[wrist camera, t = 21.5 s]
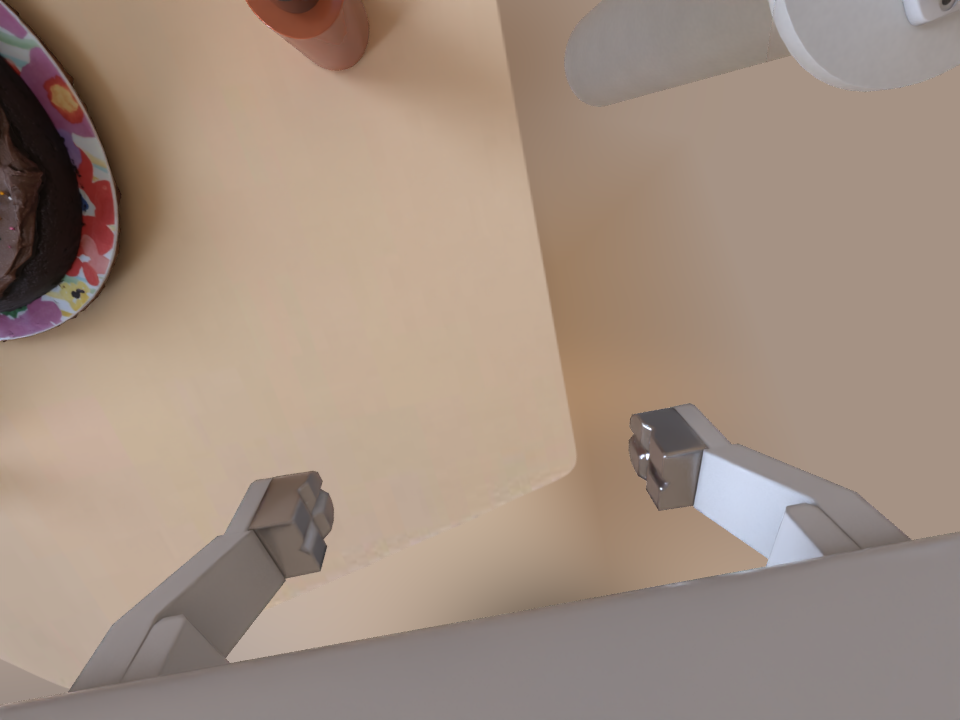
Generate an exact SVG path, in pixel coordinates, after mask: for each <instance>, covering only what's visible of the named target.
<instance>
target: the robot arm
mask: <svg viewBox="0 0 960 720" xmlns="http://www.w3.org/2000/svg"><path fill="white" fill-rule="evenodd" d="M902 2H903V6H904V10H905V14H906V17H907V19H908V21H909V23H910V24H911V25H913V26H919V25H922V24H925V23H928V22H930V21H933V20H936V19H938V18H941V17H943V16H946V15H948V14H951V13H953V12H956V11H958V10H960V0H902ZM630 428H631V430H632V432H633V433H634V434H633V436H632V437H631V438H630V440H629V454H630V459H631V462H632V465H633V467H634V469H635V471H636V473H637V475H638V476H639V477H641V478H643V479H644V480H646V481H647V485H646V490H647V492H648V494H649V495H650V497H651V499H652V500H653V502H654V503H655V505H656V507H657V509H658V510H659V511H660V510H667V509H674V508H680V507H687V506H694V508H695V509H697V510H698V511H700V512H701V513H703V514H704V515H705V516H707V517H709V518H710V519H711V520H713V521H715V522H716V523H717V524H719V525H720V526H722V527H723V528H725V529H726V530H727V531H729V532H730V533H732V534H733V535H735V536H736V537H737V538H739V539H741V540H742V541H744V542H745V543H746V544H748V545H749V546H751V547H752V548H754V549H755V550H756V551H758V552H759V553H761V554H762V555H764V556H765V557H767V558H768V562H767V565H766V567H761V568H756V569H750V570H744V571H738V572H733V573H727V574H722V575H716V576H711V577H705V578H700V579H694V580H689V581H683V582H678V583H672V584H667V585H661V586H655V587H650V588H644V589H639V590H633V591H628V592H622V593H617V594H611V595H606V596H601V597H595V598H589V599H584V600H579V601H574V602H568V603H562V604H557V605H552V606H545V607H540V608H534V609H529V610H523V611H518V612H512V613H507V614H501V615H496V616H490V617H485V618H479V619H473V620H468V621H462V622H457V623H451V624H446V625H440V626H434V627H429V628H423V629H418V630H412V631H407V632H401V633H395V634H390V635H384V636H379V637H373V638H368V639H362V640H356V641H351V642H345V643H340V644H334V645H329V646H324V647H318V648H312V649H306V650H301V651H295V652H290V653H284V654H279V655H274V656H268V657H263V658H257V659H251V660H245V661H240V662H234V663H229V661H227V659H226V657H227V656H228V654H229V653H230V652H231V650H232V649H233V648H234V646H235V645H236V644H237V643H238V641H239V640H240V639H241V637H242V636H243V635H244V634H245V632H246V631H247V630H248V629H249V627H250V626H251V625H252V623H253V622H254V621H255V620H256V618H257V617H258V616H259V614H260V613H261V612H262V611H263V609H264V608H265V607H266V605H267V604H268V603H269V601H270V600H271V599H272V598H273V596H274V595H275V594H276V592H277V591H278V590H279V589H280V587H281V586H282V585H283V583H284V582H285V581H286V580H285V579H286V578H290V577H295V576H300V575H305V574H310V573H314V572H319V571H321V567H322V563H323V560H324V556H325V552H326V549H327V545H326V543H325V541H324V540H323V539H324V538H325V537H326V536H327V535H328V534H329V532H330V531H331V529H332V525H333V521H334V508H333V503H332V500H331V498H330V495H329V493H327V492H325V491H323V490H322V489H320V488H321V485H322V482H323V481H322V479H321V477H320V475H319V473H318V472H316V471H309V472H303V473H296V474H290V475H283V476H276V477H273V478H266V479H259V480H256V481H254V482H253V483H251V485H250V486H249V488H248V490H247V492H246V494H245V496H244V498H243V500H242V501H241V503H240V505H239V507H238V509H237V511H236V513H235V515H234V516H233V518H232V520H231V522H230V524H229V526H228V528H227V530H226V532H225V533H224V535H221V536H217V537H216V538H215V539H213V540H212V541H211V542H210V543H209V544H207V545H206V546H205V547H204V548H203V549H202V550H200V551H199V552H198V553H197V554H196V555H194V556H193V557H192V558H191V559H190V560H189V561H187V562H186V563H185V564H184V565H183V566H181V567H180V568H179V569H178V570H177V571H175V572H174V573H173V574H172V575H171V576H170V577H168V578H167V579H166V580H165V581H164V582H162V583H161V584H160V585H159V586H158V587H157V588H155V589H154V590H153V591H152V592H151V593H149V594H148V595H147V596H146V597H145V598H144V599H142V600H141V601H140V602H139V603H138V604H136V605H135V606H134V607H133V608H132V609H130V610H129V611H128V612H127V613H126V614H125V615H123V616H122V617H121V618H120V619H119V620H117V621H116V622H115V623H114V624H113V625H112V626H111V628H110V629H109V631H108V632H107V634H106V635H105V637H104V638H103V640H102V641H101V643H100V644H99V646H98V647H97V649H96V650H95V652H94V653H93V655H92V656H91V658H90V660H89V661H88V663H87V664H86V666H85V667H84V669H83V670H82V672H81V673H80V675H79V676H78V678H77V679H76V681H75V682H74V684H73V685H72V687H71V688H70V690H69V691H68V693H63V694H57V695H51V696H46V697H40V698H35V699H29V700H24V701H18V702H13V703H7V704H1V705H0V720H960V532H955V533H950V534H944V535H938V536H933V537H927V538H922V539H916V540H911V539H910V538H908V536H907V535H905V534H904V533H903V532H902V531H901V530H900V529H898V528H897V527H896V526H895V525H894V524H893V523H892V522H890V521H889V520H888V519H887V518H886V517H885V516H883V515H882V514H881V513H880V512H879V511H878V510H876V509H875V508H874V507H873V506H872V505H871V504H869V503H868V502H867V501H866V500H865V499H864V498H863V497H861V496H860V495H859V494H858V493H857V492H854V491H852V490H850V489H847V488H845V487H842V486H840V485H838V484H835V483H832V482H830V481H828V480H825V479H823V478H821V477H818V476H816V475H813V474H811V473H808V472H806V471H804V470H801V469H798V468H796V467H794V466H791V465H789V464H787V463H784V462H782V461H779V460H777V459H774V458H772V457H770V456H767V455H765V454H762V453H760V452H757V451H755V450H752V449H750V448H748V447H745V446H743V445H740V444H733V445H732V444H731V443H730V442H729V441H728V440H727V439H726V438H725V437H724V436H723V435H722V433H721V432H720V431H719V430H718V429H717V428H716V427H715V426H714V425H713V424H712V423H711V422H710V421H709V420H708V419H707V418H706V417H705V416H704V415H703V414H702V413H701V412H700V411H699V410H698V408H697V407H696V406H695V405H693V404H690V403H689V404H684V405H679V406H674V407H670V408H665V409H660V410H654V411H649V412H643V413H638V414H633V415H632V416H631V418H630Z"/></svg>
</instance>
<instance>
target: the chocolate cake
mask: <svg viewBox="0 0 960 720" xmlns="http://www.w3.org/2000/svg"><path fill="white" fill-rule="evenodd" d="M120 198H121V193H120V191H119V189H118V187H117V185H116V183H115V181H114V179H113V176H112V173H111V170H110V167H109V164H108V160H107V156H106V153H105V151H104V148H103V146H102V143H101V141H100V139H99V137H98V134H97V132H96V129H95V127H94V124H93V121H92V118H91V117H90V116H89V115H88V110H87V107H86V105H85V103H83V102H82V101H81V100H80V96H79V94H78V93H76V91H75V90H74V89H73V78H72V77H71V76H70V75H69V74H68V73H67V72H66V71H65V70H64V68H63V67H62V65H61V64H60V62H59V61H58V60H57V59H56V57H55V56H54V55H53V54H52V52H51V51H50V50H49V49H48V48H47V46H46V45H45V44H44V43H43V41H42V40H41V39H40V38H39V37H38V36H37V35H36V34H35V32H34V31H33V30H32V29H31V28H30V27H29V26H28V25H27V24H26V23H25V22H24V21H23V20H21V19H20V18H19V13H18V12H17V11H16V10H14V9H13V8H12V7H11V6H10V5H8V4H7V3H6V2H5V1H4V0H0V341H3V342H5V341H7V340H11V339H17V338H22V337H28V336H32V335H35V334H38V333H42V332H45V331H47V330H50V329H52V328H54V327H56V326H60V324H62V323H64V322H66V321H67V320H69V319H73V318H76V316H77V315H78V313H79V312H82V311H84V310H85V309H86V308H87V307H88V306H89V304H91V303H92V302H93V301H94V300H95V299H96V298H97V297H98V296H99V294H100V293H101V291H102V289H103V288H104V287H105V282H106V281H107V279H108V277H109V275H110V273H111V270H112V268H113V266H114V265H115V261H116V258H117V255H118V254H119V243H118V239H119V235H118V233H119V232H120V231H121V229H120V225H119V217H120V215H119V203H120Z"/></svg>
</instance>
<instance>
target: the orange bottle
mask: <svg viewBox="0 0 960 720" xmlns="http://www.w3.org/2000/svg"><path fill="white" fill-rule="evenodd" d="M246 2H247V4H248V5H249V7H250V8H251V10H252V11H253V12H254V14H255V15H256V16H257V17H258V18H259V19H260V20H261V21H262V22H263V23H264V24H265V25H267V26H268V27H269V28H270V29H272V30H273V31H274V32H275V33H277V34H278V35H279V36H281V37H282V38H283V39H284V40H286V41H287V42H288V43H289V44H291V45H292V46H293V47H295V48H296V49H297V50H298V51H300V52H301V53H302V54H303V55H305V56H306V57H307V58H308V59H310V60H311V61H312V62H314V63H315V64H317V65H318V66H320V67H322V68H325V69H328V70H334V71H339V70H345V69H348V68H350V67H352V66H353V65H355V64H356V63H357V62H358V61H359V60H360V59H361V58H362V56H363V54H364V52H365V50H366V48H367V44H368V39H369V23H368V17H367V14H366V11H365V8H364V5H363V3H362V1H361V0H246Z"/></svg>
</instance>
